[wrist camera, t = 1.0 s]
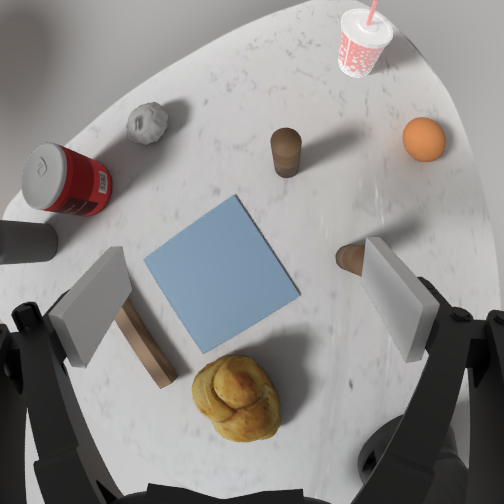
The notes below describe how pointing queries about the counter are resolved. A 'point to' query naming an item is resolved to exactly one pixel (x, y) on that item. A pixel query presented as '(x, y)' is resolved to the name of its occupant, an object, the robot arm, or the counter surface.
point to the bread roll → (237, 399)
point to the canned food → (65, 181)
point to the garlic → (147, 123)
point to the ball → (424, 139)
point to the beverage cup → (362, 40)
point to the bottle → (26, 242)
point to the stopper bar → (144, 346)
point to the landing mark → (220, 275)
